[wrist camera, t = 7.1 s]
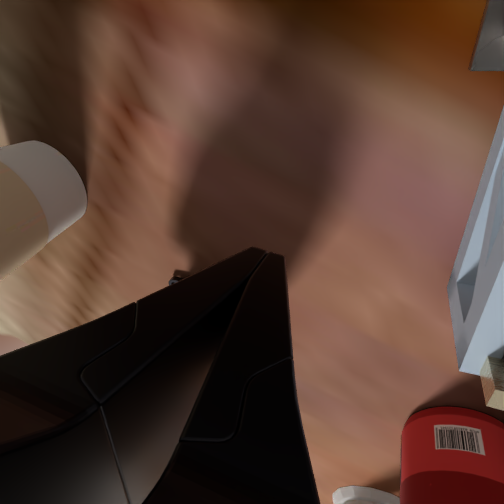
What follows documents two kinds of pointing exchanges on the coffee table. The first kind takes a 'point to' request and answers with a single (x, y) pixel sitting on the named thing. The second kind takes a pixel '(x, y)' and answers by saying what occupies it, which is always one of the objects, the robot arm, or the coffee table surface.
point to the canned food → (452, 458)
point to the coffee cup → (35, 200)
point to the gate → (481, 269)
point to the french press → (363, 496)
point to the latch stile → (493, 382)
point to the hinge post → (490, 39)
